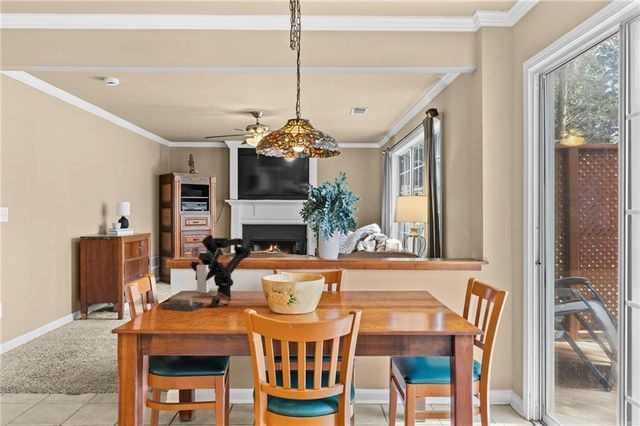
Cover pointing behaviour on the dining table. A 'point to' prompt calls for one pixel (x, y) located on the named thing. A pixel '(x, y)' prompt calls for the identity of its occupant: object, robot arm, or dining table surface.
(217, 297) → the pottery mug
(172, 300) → the offcut
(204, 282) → the white upright block
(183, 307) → the plate
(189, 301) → the offcut
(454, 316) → the dining table surface
